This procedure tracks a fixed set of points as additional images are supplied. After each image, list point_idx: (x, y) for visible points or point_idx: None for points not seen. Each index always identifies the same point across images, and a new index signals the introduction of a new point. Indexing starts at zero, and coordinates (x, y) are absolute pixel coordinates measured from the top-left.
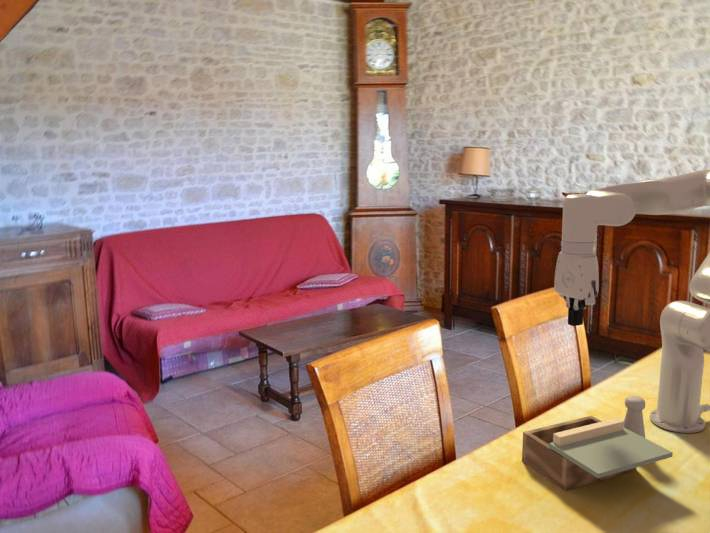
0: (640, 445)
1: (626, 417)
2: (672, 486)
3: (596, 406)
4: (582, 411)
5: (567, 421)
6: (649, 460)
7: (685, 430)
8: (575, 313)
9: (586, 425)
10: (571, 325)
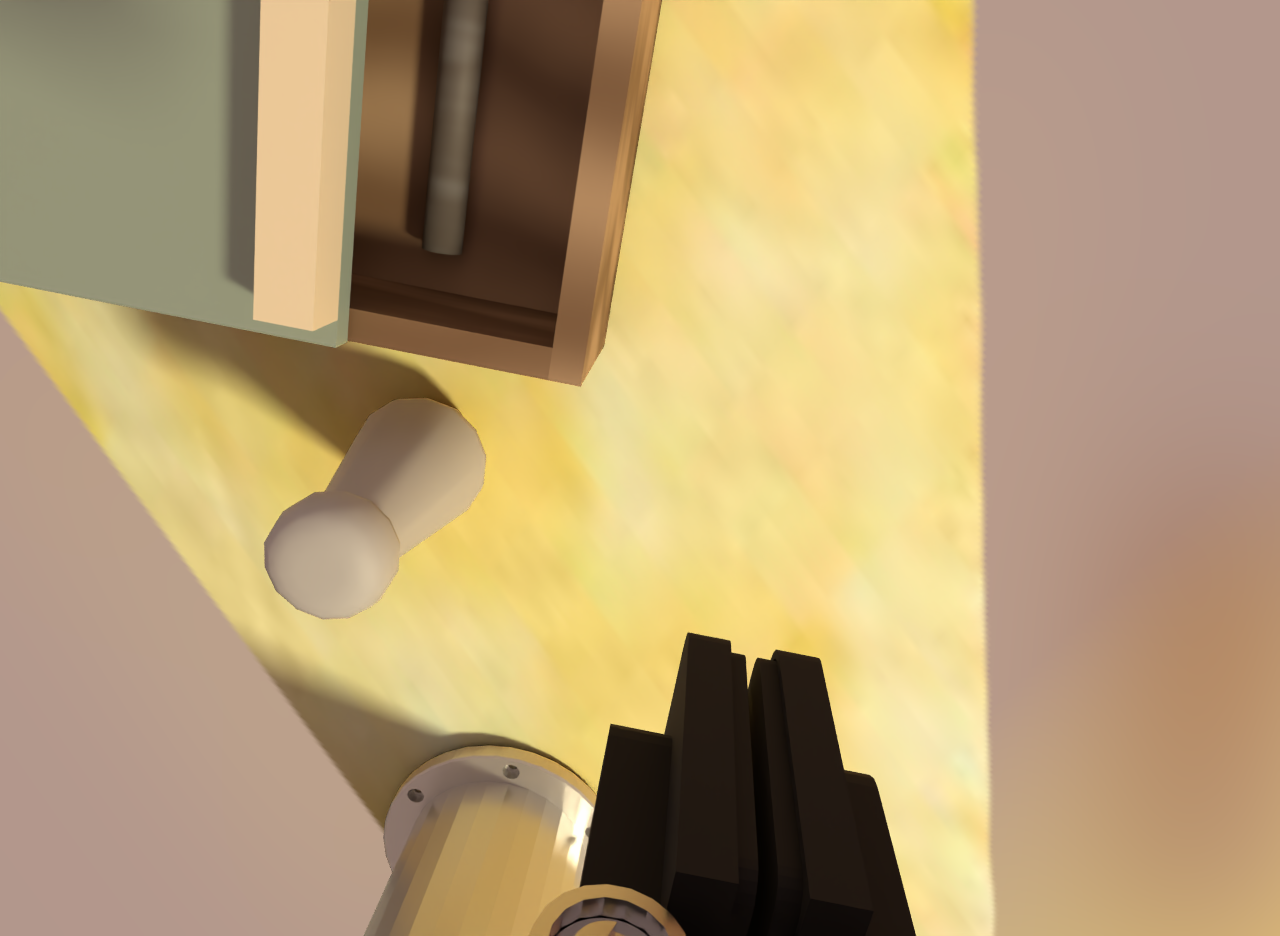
0: (81, 195)
1: (386, 475)
2: None
3: (850, 737)
4: (864, 637)
5: (611, 177)
6: None
7: (408, 778)
8: (666, 860)
9: (326, 34)
10: (724, 642)
